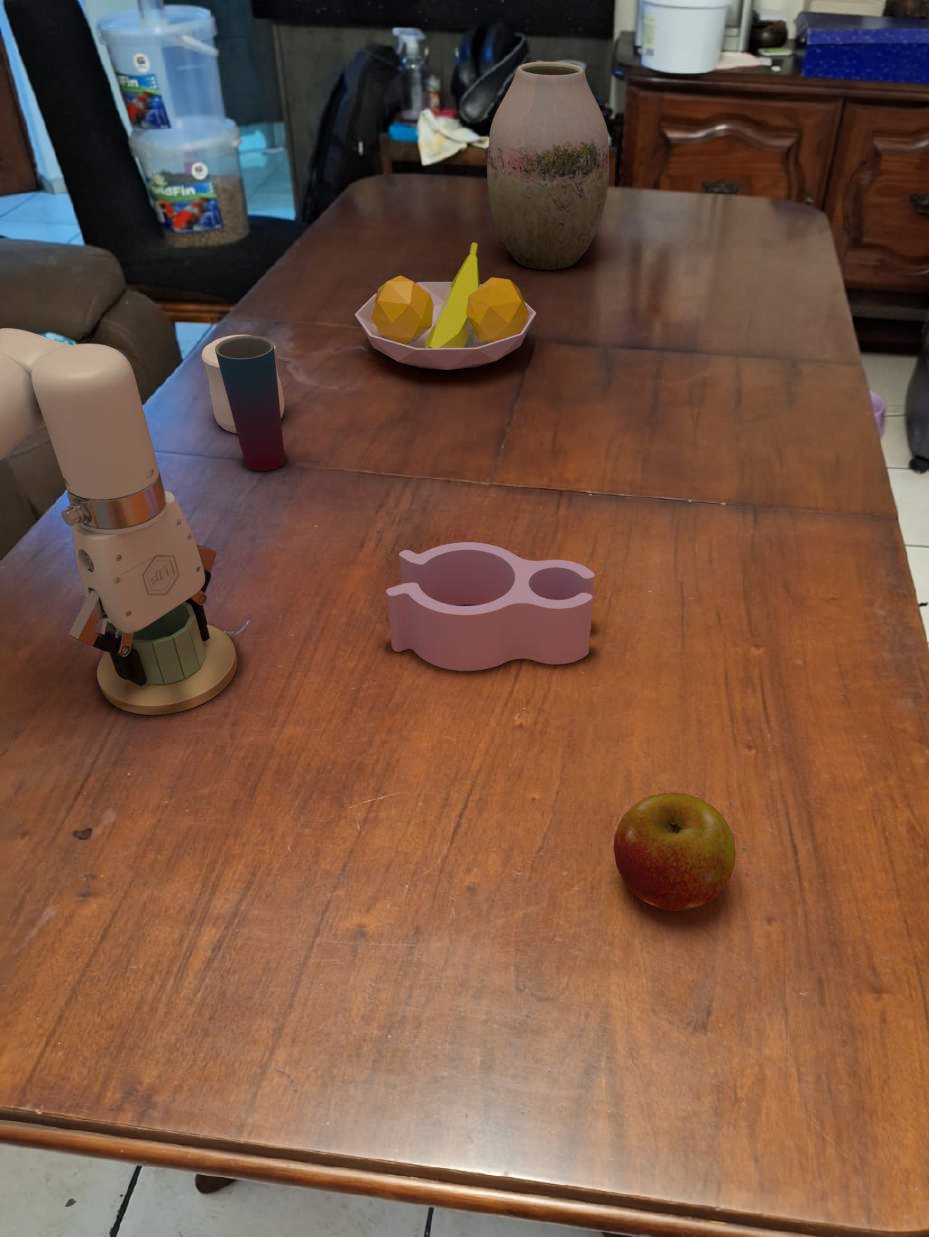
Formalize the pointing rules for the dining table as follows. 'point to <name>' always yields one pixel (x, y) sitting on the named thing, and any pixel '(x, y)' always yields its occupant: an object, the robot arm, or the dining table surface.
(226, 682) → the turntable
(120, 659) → the robot arm
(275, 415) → the cup
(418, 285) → the fruit bowl
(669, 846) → the fruit
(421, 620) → the clip
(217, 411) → the cup
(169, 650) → the green mug
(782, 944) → the dining table surface
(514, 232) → the vase
